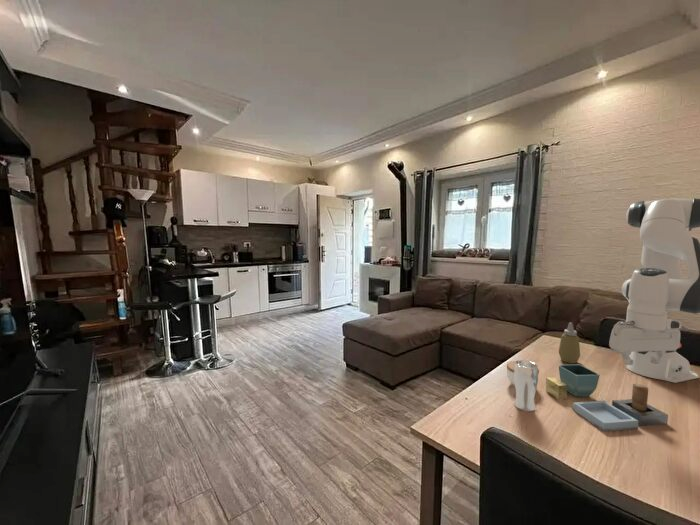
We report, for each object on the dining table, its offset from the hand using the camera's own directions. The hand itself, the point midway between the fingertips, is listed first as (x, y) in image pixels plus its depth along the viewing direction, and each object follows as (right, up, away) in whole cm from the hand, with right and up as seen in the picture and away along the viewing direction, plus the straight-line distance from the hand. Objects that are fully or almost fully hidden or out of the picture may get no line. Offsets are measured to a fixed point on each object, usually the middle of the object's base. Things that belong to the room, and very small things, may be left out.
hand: (641, 363), depth 93 cm
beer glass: (-32, -17, +8) cm, 37 cm away
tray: (-11, -18, +1) cm, 21 cm away
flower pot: (-8, -16, +16) cm, 24 cm away
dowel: (+1, -17, +2) cm, 17 cm away
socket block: (+1, -17, +2) cm, 17 cm away
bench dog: (-16, -16, +15) cm, 28 cm away
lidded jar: (-25, -16, +22) cm, 37 cm away
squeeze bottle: (+9, -14, +43) cm, 46 cm away
